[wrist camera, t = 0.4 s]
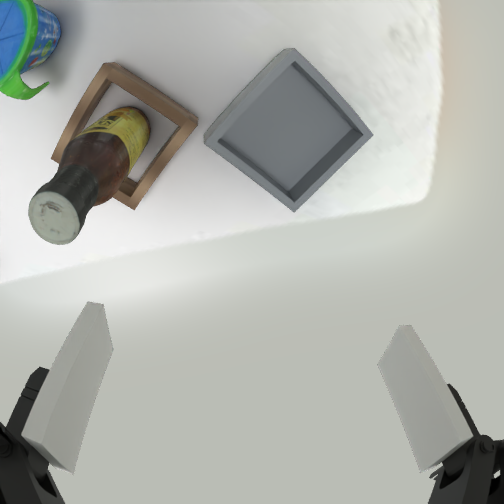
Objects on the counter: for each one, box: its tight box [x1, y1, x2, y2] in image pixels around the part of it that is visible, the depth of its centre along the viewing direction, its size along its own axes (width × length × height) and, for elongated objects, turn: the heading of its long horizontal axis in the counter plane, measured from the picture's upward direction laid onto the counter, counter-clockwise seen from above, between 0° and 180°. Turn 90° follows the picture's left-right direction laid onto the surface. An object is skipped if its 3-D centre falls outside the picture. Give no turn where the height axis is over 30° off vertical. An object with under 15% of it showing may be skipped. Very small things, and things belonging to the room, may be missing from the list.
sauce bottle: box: [28, 107, 150, 245], centre depth 22 cm, size 6×6×20 cm
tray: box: [204, 48, 373, 212], centre depth 32 cm, size 14×14×4 cm
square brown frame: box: [51, 62, 198, 210], centre depth 29 cm, size 12×12×4 cm
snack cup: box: [0, 0, 61, 100], centre depth 16 cm, size 16×10×10 cm
